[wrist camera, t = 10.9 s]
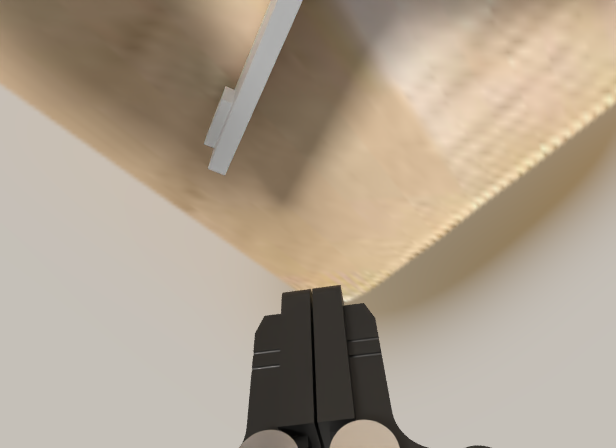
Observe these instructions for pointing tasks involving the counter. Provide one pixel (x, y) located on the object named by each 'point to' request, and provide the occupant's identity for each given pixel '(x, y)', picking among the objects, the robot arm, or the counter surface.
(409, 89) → the counter surface
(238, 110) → the side door
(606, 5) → the counter surface
